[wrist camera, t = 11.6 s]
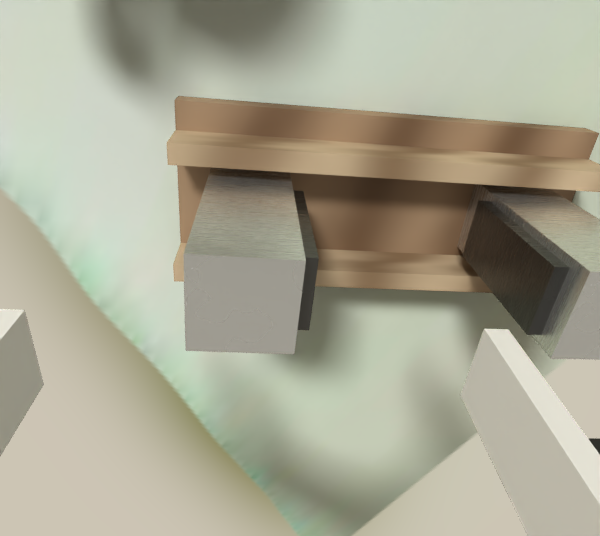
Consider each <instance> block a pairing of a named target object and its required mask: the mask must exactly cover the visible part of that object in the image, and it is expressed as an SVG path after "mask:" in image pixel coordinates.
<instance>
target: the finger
mask: <svg viewBox="0 0 600 536" xmlns="http://www.w3.org/2000/svg"><path fill="white" fill-rule="evenodd" d="M457 247H458V248H459V249H460V250H461V251H462V253H463V255H462V256H463V257H464V258H465V260H466V261H467V262H468V263H469V264H470V266H471V267H472V268H473V269H474V271H475V272H476V273H477V274H478V275H479V277H480V278H481V279H482V280H483V281H484V283H485V284H486V285H487V286H488V288H489V289H490V290H491V291H492V292H493V294H494V295H495V296H496V297H497V298H498V300H499V301H500V302H501V303H502V305H503V306H504V307H505V308H506V309H507V311H508V312H509V313H510V314H511V316H512V317H513V318H514V319H515V320H516V322H517V323H518V324H519V325H520V326H521V328H522V329H523V330H524V331H525V333H526V334H527V335H532V337H533V338H534V339H535V340H536V341H537V343H538V344H539V345H540V346H541V347H542V349H543V350H544V351H545V352H546V353H547V355H548V356H549V357H550V358H552V359H600V219H598V218H596V217H595V216H593V215H591V214H590V213H588V212H587V211H585V210H583V209H582V208H580V207H578V206H577V205H575V204H574V203H572V202H570V201H569V200H567V199H565V198H564V197H562V196H561V195H559V194H557V193H556V192H554V191H553V190H551V189H545V188H529V187H513V186H497V185H482V184H475V185H474V189H473V192H472V196H471V199H470V203H469V206H468V210H467V213H466V217H465V220H464V224H463V227H462V231H461V234H460V238H459V242H458V245H457Z"/></svg>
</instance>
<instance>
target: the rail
mask: <svg viewBox="0 0 600 536" xmlns="http://www.w3.org/2000/svg"><path fill="white" fill-rule="evenodd" d="M175 121H176V130H175V132H174V133H173V135H172V136H171V137H170V139H169V140H168V142H167V157H168V165H177V167H178V190H179V213H180V236H181V244H180V247H179V249H178V252H177V255H176V258H175V261H174V264H173V268H174V281H184V257H183V254H184V251H185V247H186V244H187V241H188V238H189V235H190V232H191V229H192V226H193V223H194V219H195V216H196V213H197V210H198V207H199V204H200V201H201V198H202V194H203V191H204V188H205V185H206V182H207V179H208V176H209V173H210V169H211V167H212V168H228V169H244V170H260V171H276V172H290V174H291V180H292V186H293V190H296V191H303V192H304V196H305V201H306V205H307V209H308V213H309V218H310V222H311V226H312V231H313V235H314V239H315V243H316V248H317V252H318V256H319V261H318V269H317V276H316V283H315V286H322V287H349V288H377V289H404V290H432V291H459V292H487V293H493V292H492V291H491V290H490V289H489V288H488V286H487V285H486V284H485V283H484V281H483V280H482V279H481V278H480V277H479V275H478V274H477V273H476V272H475V271H474V269H473V268H472V267H471V266H470V264H469V263H468V262H467V261H466V260H465V258H464V257H463V256H462V255H463V253H462V251H461V250H460V249H459V248H458V247H457V245H458V242H459V238H460V234H461V231H462V227H463V224H464V220H465V217H466V213H467V210H468V206H469V203H470V199H471V196H472V192H473V189H474V185H475V184H482V185H497V186H513V187H529V188H545V189H551V190H553V191H554V192H556V193H557V194H559V195H561V196H562V197H564V198H565V199H567V200H569V201H570V202H572V200H573V197H574V195H575V192H576V190H577V191H592V192H600V164H598V163H596V162H593V161H591V160H589V157H590V155H591V152H592V150H593V147H594V145H595V142H596V140H597V137H598V135H599V133H597V132H594V131H591V130H588V129H586V128H575V127H563V126H550V125H537V124H525V123H512V122H500V121H487V120H474V119H462V118H449V117H436V116H424V115H411V114H398V113H386V112H373V111H360V110H348V109H335V108H323V107H310V106H297V105H285V104H272V103H259V102H247V101H234V100H221V99H209V98H196V97H184V96H178V97H177V98H176V99H175Z"/></svg>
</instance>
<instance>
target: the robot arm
mask: <svg viewBox="0 0 600 536" xmlns="http://www.w3.org/2000/svg"><path fill="white" fill-rule="evenodd" d="M43 385H44V383H43V380H42V376H41V372H40V368H39V364H38V360H37V356H36V352H35V348H34V344H33V341H32V336H31V333H30V329H29V325H28V321H27V317H26V313H25V310H12V309H10V310H9V309H0V456H1V454H2V453H3V451H4V449H5V448H6V446H7V445H8V443H9V441H10V439H11V438H12V436H13V435H14V433H15V431H16V430H17V428H18V426H19V425H20V423H21V421H22V420H23V418H24V416H25V415H26V413H27V411H28V410H29V408H30V406H31V405H32V403H33V402H34V400H35V398H36V396H37V395H38V393H39V392H40V390H41V388H42V386H43ZM460 396H461V399H462V401H463V403H464V405H465V407H466V409H467V411H468V413H469V415H470V417H471V419H472V421H473V423H474V426H475V428H476V430H477V432H478V434H479V436H480V438H481V440H482V442H483V444H484V446H485V448H486V450H487V452H488V455H489V457H490V459H491V460H492V463H493V465H494V467H495V469H496V471H497V473H498V475H499V477H500V479H501V481H502V484H503V486H504V488H505V490H506V492H507V494H508V496H509V498H510V500H511V502H512V504H513V506H514V509H515V511H516V513H517V515H518V517H519V519H520V521H521V523H522V525H523V527H524V529H525V531H526V533H527V535H528V536H600V439H588V438H587V437H586V435H585V434H584V432H583V431H582V430H581V428H580V427H579V425H578V424H577V423H576V421H575V420H574V419H573V417H572V416H571V414H570V413H569V412H568V410H567V409H566V408H565V406H564V405H563V404H562V402H561V401H560V400H559V398H558V397H557V395H556V394H555V393H554V391H553V390H552V389H551V387H550V386H549V384H548V383H547V382H546V381H545V379H544V378H543V376H542V375H541V373H540V372H539V371H538V369H537V368H536V367H535V365H534V364H533V362H532V361H531V360H530V358H529V357H528V356H527V354H526V353H525V351H524V350H523V349H522V347H521V346H520V345H519V343H518V342H517V341H516V339H515V338H514V336H513V335H512V334H511V332H510V331H509V330H508V329H484V330H483V333H482V336H481V339H480V341H479V344H478V347H477V350H476V352H475V355H474V358H473V361H472V364H471V366H470V369H469V372H468V375H467V377H466V380H465V383H464V386H463V389H462V391H461V394H460Z"/></svg>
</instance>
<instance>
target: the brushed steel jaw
mask: <svg viewBox="0 0 600 536" xmlns="http://www.w3.org/2000/svg"><path fill="white" fill-rule="evenodd" d="M183 257H184V299H185V341H186V351H212V352H243V353H274V354H294V353H295V345H296V337H297V330H309V326H310V319H311V312H312V304H313V297H314V290H315V283H316V276H317V269H318V261H319V256H318V252H317V248H316V243H315V239H314V235H313V231H312V226H311V222H310V218H309V213H308V209H307V205H306V201H305V196H304V192H303V191H296V190H293V186H292V180H291V174H290V172H276V171H260V170H244V169H228V168H212V167H211V169H210V173H209V176H208V179H207V182H206V185H205V188H204V191H203V194H202V198H201V201H200V204H199V207H198V210H197V213H196V216H195V219H194V223H193V226H192V229H191V232H190V235H189V238H188V241H187V244H186V247H185V251H184V254H183Z"/></svg>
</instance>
